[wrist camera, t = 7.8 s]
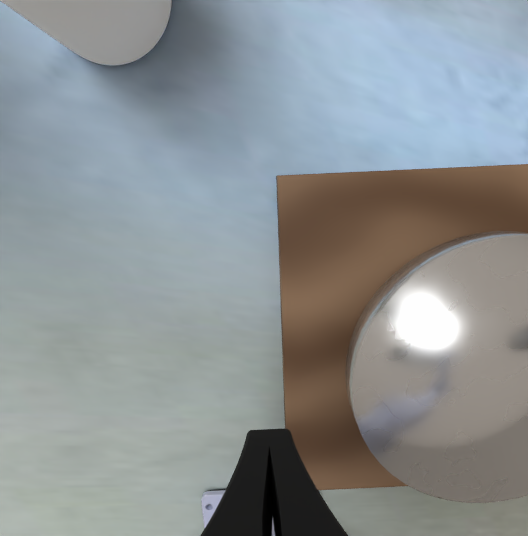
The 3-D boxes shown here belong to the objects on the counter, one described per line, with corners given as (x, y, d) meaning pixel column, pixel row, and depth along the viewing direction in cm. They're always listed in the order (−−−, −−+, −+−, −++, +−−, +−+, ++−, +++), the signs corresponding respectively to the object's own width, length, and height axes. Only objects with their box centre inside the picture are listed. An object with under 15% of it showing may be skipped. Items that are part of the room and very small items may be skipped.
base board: (573, 459, 24) (686, 558, 18) (286, 472, 24) (296, 576, 18) (633, 159, 19) (817, 147, 13) (276, 176, 19) (284, 172, 13)
